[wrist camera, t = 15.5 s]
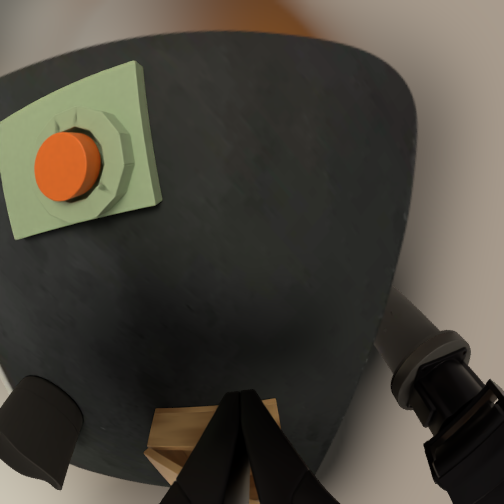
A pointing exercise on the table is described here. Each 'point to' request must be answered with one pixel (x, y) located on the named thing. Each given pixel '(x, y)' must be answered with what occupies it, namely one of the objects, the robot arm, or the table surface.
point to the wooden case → (189, 432)
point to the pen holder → (39, 430)
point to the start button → (66, 165)
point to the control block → (105, 137)
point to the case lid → (169, 467)
